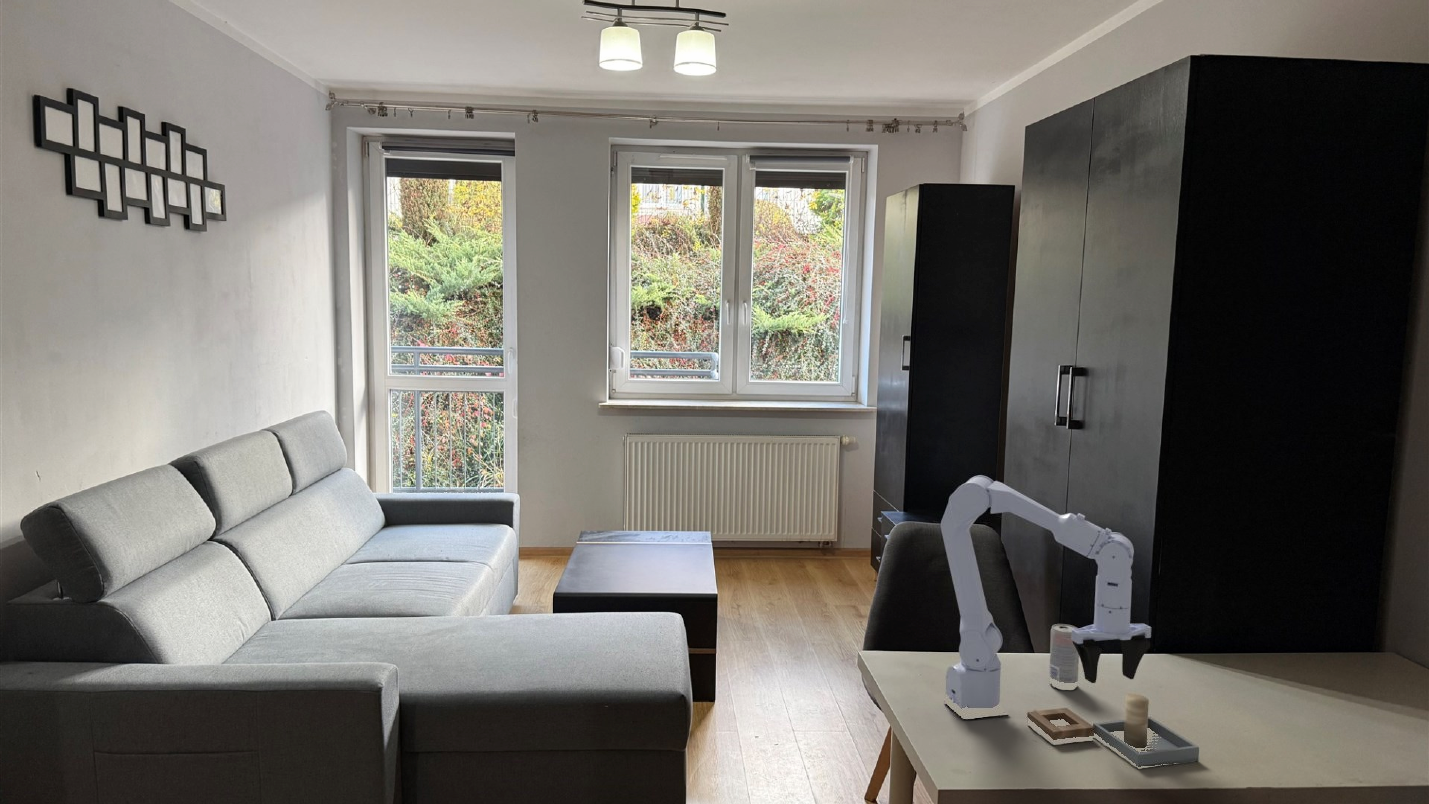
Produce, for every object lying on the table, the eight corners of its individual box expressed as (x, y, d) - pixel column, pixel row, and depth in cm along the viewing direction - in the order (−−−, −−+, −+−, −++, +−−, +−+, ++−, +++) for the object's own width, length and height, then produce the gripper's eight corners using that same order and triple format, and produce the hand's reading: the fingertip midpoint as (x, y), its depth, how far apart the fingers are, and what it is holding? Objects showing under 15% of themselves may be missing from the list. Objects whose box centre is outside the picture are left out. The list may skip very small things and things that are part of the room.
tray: (1137, 769, 143) (1138, 754, 143) (1092, 737, 155) (1093, 723, 154) (1198, 761, 146) (1199, 747, 146) (1149, 730, 157) (1150, 716, 157)
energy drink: (1073, 681, 179) (1074, 624, 178) (1081, 692, 174) (1083, 633, 173) (1046, 680, 180) (1047, 623, 178) (1053, 690, 174) (1055, 632, 173)
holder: (1053, 745, 151) (1053, 732, 151) (1027, 725, 159) (1027, 712, 159) (1093, 740, 153) (1094, 727, 153) (1066, 720, 161) (1066, 707, 161)
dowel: (1133, 749, 149) (1135, 704, 148) (1119, 739, 152) (1120, 695, 152) (1151, 747, 150) (1153, 701, 149) (1136, 737, 153) (1138, 693, 152)
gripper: (1090, 614, 148) (1087, 691, 149) (1164, 608, 151) (1161, 684, 152) (1065, 601, 155) (1062, 675, 156) (1136, 595, 158) (1133, 668, 159)
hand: (1109, 678), depth 155 cm, fingers open, 7 cm apart
